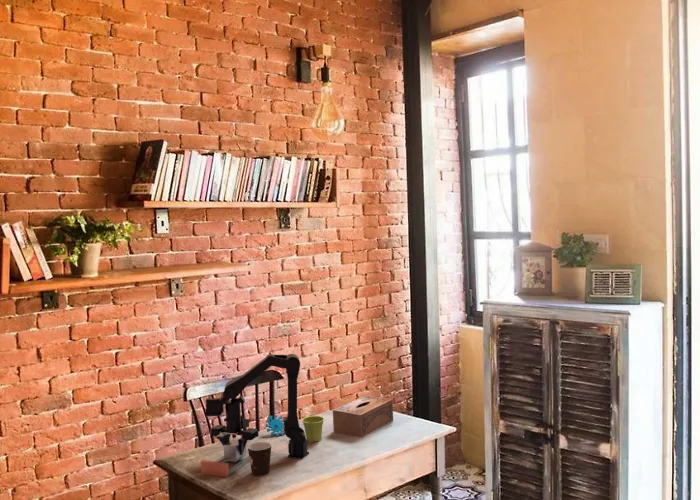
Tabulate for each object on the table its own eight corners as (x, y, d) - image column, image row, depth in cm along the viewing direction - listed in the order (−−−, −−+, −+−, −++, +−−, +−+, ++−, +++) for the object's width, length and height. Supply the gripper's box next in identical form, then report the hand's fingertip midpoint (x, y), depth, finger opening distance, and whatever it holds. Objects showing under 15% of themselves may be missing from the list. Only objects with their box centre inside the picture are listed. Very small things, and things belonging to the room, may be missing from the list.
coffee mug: (249, 469, 246) (248, 442, 245) (272, 467, 246) (271, 441, 246) (247, 481, 234) (246, 454, 233) (271, 479, 235) (270, 452, 234)
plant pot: (298, 442, 272) (297, 421, 272) (308, 435, 281) (307, 415, 281) (319, 444, 269) (318, 423, 268) (328, 437, 278) (327, 416, 277)
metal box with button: (247, 454, 257) (246, 439, 257) (236, 461, 250) (235, 446, 250) (235, 453, 259) (234, 438, 259) (224, 460, 252) (223, 444, 252)
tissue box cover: (366, 416, 305) (365, 395, 304) (393, 421, 296) (392, 399, 296) (333, 432, 283) (332, 410, 283) (361, 438, 275) (360, 414, 275)
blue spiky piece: (266, 434, 278) (264, 413, 285) (263, 441, 282) (262, 420, 289) (291, 434, 282) (289, 413, 288) (288, 441, 286) (286, 420, 292)
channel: (251, 459, 255) (251, 448, 255) (226, 476, 239) (225, 464, 238) (227, 456, 259) (227, 445, 259) (201, 473, 243) (200, 461, 243)
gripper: (264, 410, 257) (266, 449, 258) (224, 406, 264) (226, 444, 265) (250, 418, 247) (252, 459, 248) (208, 414, 254) (210, 454, 255)
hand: (235, 454), depth 254 cm, fingers closed on metal box with button, 5 cm apart
